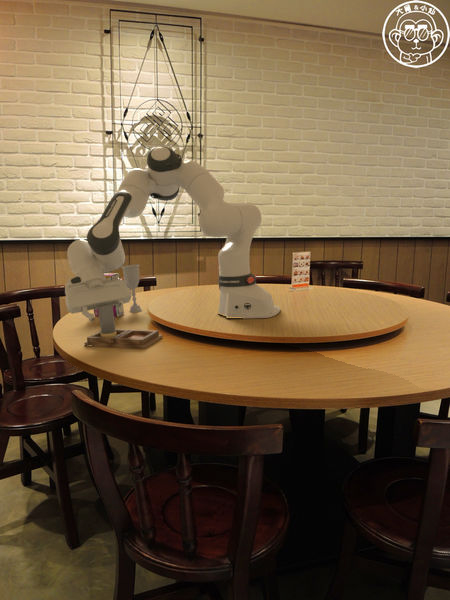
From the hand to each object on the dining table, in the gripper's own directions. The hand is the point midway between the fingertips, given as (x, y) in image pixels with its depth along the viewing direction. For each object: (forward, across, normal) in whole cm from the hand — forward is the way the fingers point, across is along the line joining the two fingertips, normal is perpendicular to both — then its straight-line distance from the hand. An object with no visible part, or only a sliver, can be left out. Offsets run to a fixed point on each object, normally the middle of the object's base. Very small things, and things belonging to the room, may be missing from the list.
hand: (107, 317), depth 142 cm
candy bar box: (-19, -12, -30) cm, 38 cm away
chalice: (-18, -23, -29) cm, 41 cm away
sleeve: (+4, 0, -5) cm, 7 cm away
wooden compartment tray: (+8, -3, -3) cm, 9 cm away
